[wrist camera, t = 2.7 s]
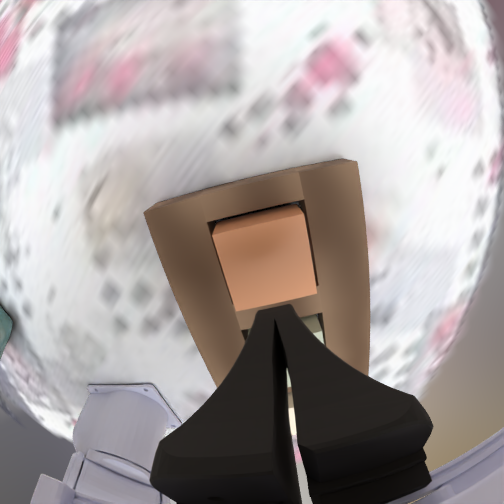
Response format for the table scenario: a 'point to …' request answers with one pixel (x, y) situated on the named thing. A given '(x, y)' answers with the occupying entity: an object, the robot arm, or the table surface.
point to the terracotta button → (266, 257)
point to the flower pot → (4, 329)
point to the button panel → (321, 246)
